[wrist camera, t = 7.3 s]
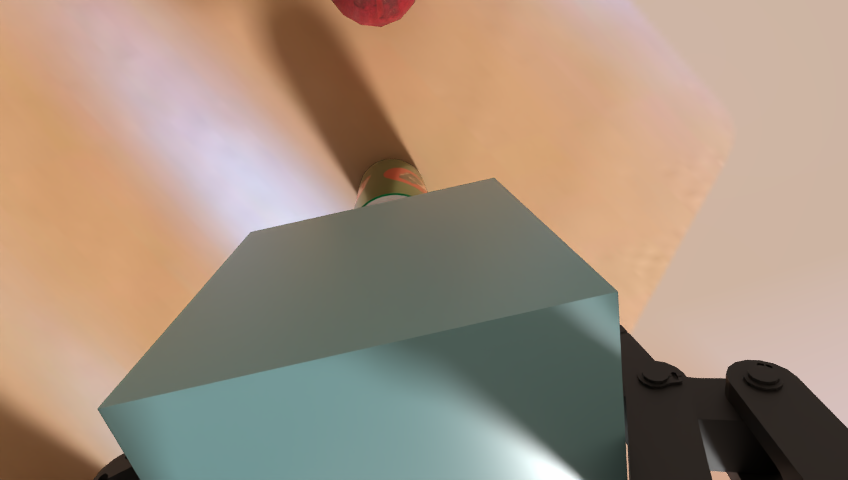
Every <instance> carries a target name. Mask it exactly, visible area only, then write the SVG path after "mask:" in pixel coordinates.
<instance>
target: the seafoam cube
mask: <svg viewBox="0 0 848 480" xmlns="http://www.w3.org/2000/svg"><path fill="white" fill-rule="evenodd" d="M98 411H99V412H100V414H101V416H102V417H103V419H104V421H105V422H106V424H107V426H108V427H109V429H110V431H111V432H112V434H113V435H114V437H115V439H116V440H117V442H118V444H119V445H120V447H121V449H122V450H123V452H124V454H125V455H126V457H127V459H128V460H129V462H130V464H131V465H132V467H133V469H134V470H135V472H136V474H137V475H138V477H139V478H140V480H627V461H626V442H625V422H624V402H623V383H622V363H621V343H620V324H619V304H618V291H617V290H616V289H614V288H613V287H612V286H611V285H610V284H609V283H608V282H607V281H606V280H605V279H604V278H603V277H601V276H600V275H599V274H598V273H597V272H596V271H595V270H594V269H593V268H592V267H591V266H589V265H588V264H587V263H586V262H585V261H584V260H583V259H582V258H581V257H580V256H579V255H578V254H576V253H575V252H574V251H573V250H572V249H571V248H570V247H569V246H568V245H567V244H566V243H565V242H563V241H562V240H561V239H560V238H559V237H558V236H557V235H556V234H555V233H554V232H553V231H551V230H550V229H549V228H548V227H547V226H546V225H545V224H544V223H543V222H542V221H541V220H540V219H538V218H537V217H536V216H535V215H534V214H533V213H532V212H531V211H530V210H529V209H528V208H526V207H525V206H524V205H523V204H522V203H521V202H520V201H519V200H518V199H517V198H516V197H515V196H513V195H512V194H511V193H510V192H509V191H508V190H507V189H506V188H505V187H504V186H503V185H501V184H500V183H499V182H498V181H497V180H496V179H495V178H491V179H487V180H482V181H478V182H473V183H469V184H464V185H460V186H455V187H451V188H446V189H442V190H437V191H433V192H428V193H424V194H419V195H415V196H410V197H406V198H401V199H397V200H393V201H388V202H384V203H379V204H375V205H370V206H366V207H361V208H357V209H352V210H348V211H343V212H339V213H334V214H330V215H325V216H321V217H316V218H312V219H307V220H303V221H299V222H294V223H290V224H285V225H281V226H276V227H272V228H267V229H263V230H258V231H254V232H250V234H249V235H248V236H247V237H246V238H245V239H244V240H243V242H242V243H241V244H240V245H239V246H238V247H237V249H236V250H235V251H234V252H233V253H232V254H231V255H230V257H229V258H228V259H227V260H226V261H225V262H224V263H223V265H222V266H221V267H220V268H219V269H218V270H217V272H216V273H215V274H214V275H213V276H212V277H211V278H210V280H209V281H208V282H207V283H206V284H205V285H204V287H203V288H202V289H201V290H200V291H199V292H198V293H197V295H196V296H195V297H194V298H193V299H192V300H191V302H190V303H189V304H188V305H187V306H186V307H185V308H184V310H183V311H182V312H181V313H180V314H179V315H178V317H177V318H176V319H175V320H174V321H173V322H172V323H171V325H170V326H169V327H168V328H167V329H166V330H165V332H164V333H163V334H162V335H161V336H160V337H159V338H158V340H157V341H156V342H155V343H154V344H153V345H152V346H151V348H150V349H149V350H148V351H147V352H146V353H145V355H144V356H143V357H142V358H141V359H140V360H139V361H138V363H137V364H136V365H135V366H134V367H133V368H132V370H131V371H130V372H129V373H128V374H127V375H126V376H125V378H124V379H123V380H122V381H121V382H120V383H119V385H118V386H117V387H116V388H115V389H114V390H113V391H112V393H111V394H110V395H109V396H108V397H107V398H106V400H105V401H104V402H103V403H102V404H101V405H100V406H99V408H98Z"/></svg>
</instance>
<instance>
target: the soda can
mask: <svg viewBox="0 0 848 480" xmlns="http://www.w3.org/2000/svg"><path fill="white" fill-rule="evenodd" d="M424 193H428V192H427V189H426V187H425V184H424V181H423V179H422V177H421V175H420V173H419V172H418V171H417V169H416V168H414V167H413V166H412V165H411V164H409V163H407V162H405V161H402V160H399V159H386V160H382V161H379V162H377V163H375V164H373V165H372V166H371V167H369V169H368V170H367V171H366V172H365V173H364V175H363V177H362V179H361V182H360V186H359V190H358V195H357V199H356V204H355V208H354V209H357V208H361V207H366V206H370V205H375V204H379V203H384V202H388V201H393V200H397V199H401V198H406V197H410V196H415V195H419V194H424Z"/></svg>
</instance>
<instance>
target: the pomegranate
mask: <svg viewBox="0 0 848 480" xmlns="http://www.w3.org/2000/svg"><path fill="white" fill-rule="evenodd" d="M332 1H333V3H334V4H335V5H336V6H337V8H338V9H339V10H340V11H341V12H342V14H343V15H345V16H346V17H348V18H350V19H352V20H354V21H355V22H357V23H359V24H361V25H369V26H379V27H382V26H384V25H387V24H389V23H392V22H394V21H396V20H399V19H401V18H402V16H403V15H404V14H405V13H406V12H407V11H408V10H409V8H410V7H411V6H412V5H413V4H414V2H415V0H332Z"/></svg>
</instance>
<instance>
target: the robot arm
mask: <svg viewBox="0 0 848 480" xmlns="http://www.w3.org/2000/svg"><path fill="white" fill-rule="evenodd" d="M620 343H621V363H622V383H623V402H624V422H625V442H626V444H627V445H628V461H629V480H712V477H711V473H710V471H721V472H727V474H728V476H729V477H730V479H731V480H848V428H847V427H846V426H845V425H844V424H843V423H842V422H841V421H840V420H839V419H838V418H837V417H836V416H835V415H834V414H833V413H832V412H831V411H830V410H829V409H828V408H827V407H826V406H825V405H824V404H823V403H822V402H821V401H820V400H819V399H818V398H817V397H816V396H815V395H814V394H813V393H812V392H811V390H810V389H809V388H807V386H806V385H805V384H804V383H803V382H802V381H800V379H799V378H798V377H797V376H795V375H794V374H793V373H791V372H790V371H789V370H787V369H785V368H783V367H780V366H778V365H776V364H773V363H768V362H764V361H760V360H744V361H739V362H735V363H734V364H732V365H731V366H729V367H728V370H727V373H726V379H722V378H715V379H714V378H691V377H686V376H685V374H684V373H683V372H682V371H680V370H679V369H678V368H676V367H675V366H672V365H670V364H667V363H665V362H659V361H655V360H654V359H653V358H652V357H651V356H650V355H649V354H648V353H647V352H646V351H645V350H644V349H643V348H642V347H641V345H640V344H639V343H638V342H637V341H636V340H635V339H634V338H633V337H632V336H631V335H630V334H629V333H627V331H626V330H625V329H624V327H623V326H622V325H620ZM94 480H140V478H139V477H138V475H137V474H136V472H135V470H134V469H133V467H132V465H131V464H130V462H129V460H128V459H127V457H126V455H125V454H122V455H120V456H119V457H117V458H115V459H114V460H112V461H111V462H110V463H109V464H107V465H106V466H105V467H104V468H103V469H102V470H101V471H100V472H99V473H98V474H97V476H96V477H95V478H94Z"/></svg>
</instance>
